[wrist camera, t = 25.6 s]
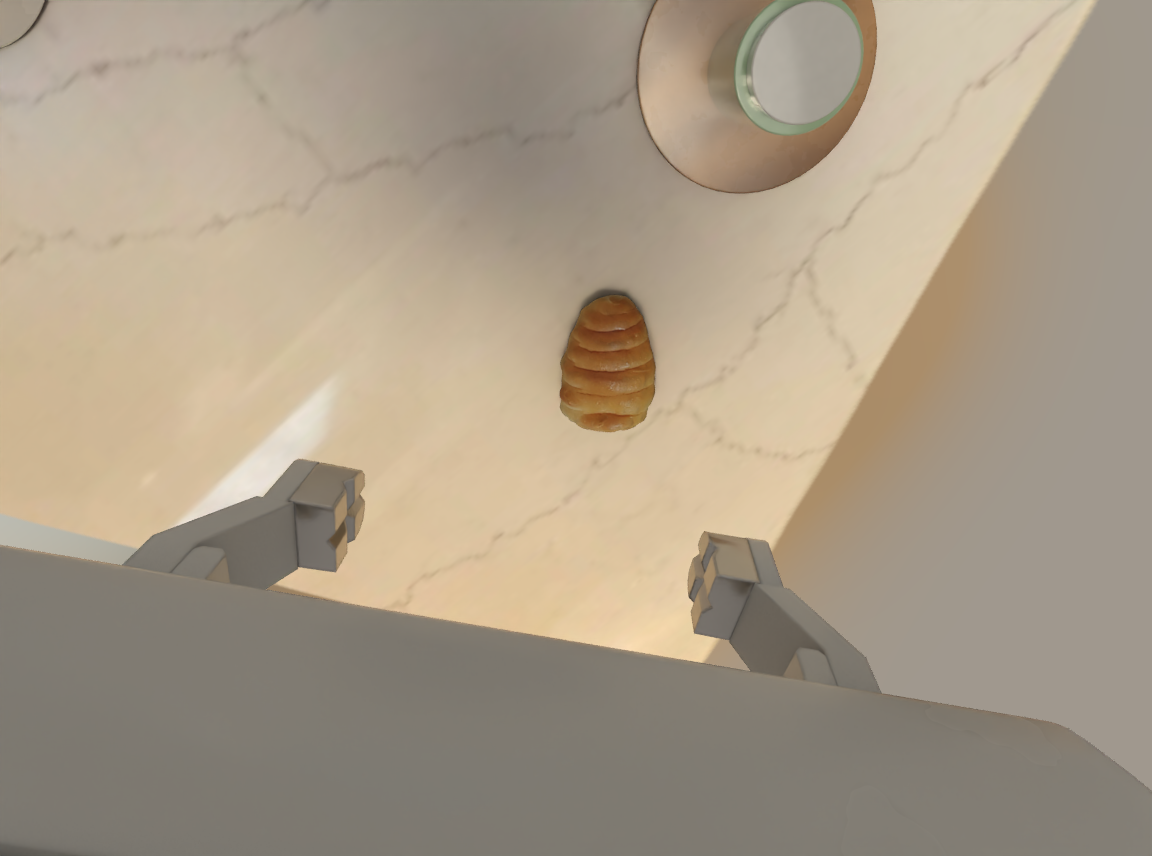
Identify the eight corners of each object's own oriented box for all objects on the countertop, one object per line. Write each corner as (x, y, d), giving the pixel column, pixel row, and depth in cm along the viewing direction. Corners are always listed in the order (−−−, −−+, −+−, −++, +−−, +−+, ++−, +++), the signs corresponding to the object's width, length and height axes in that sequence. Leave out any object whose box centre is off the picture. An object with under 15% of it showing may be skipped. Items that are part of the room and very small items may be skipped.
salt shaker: (693, 43, 33) (721, 27, 25) (791, -9, 32) (858, -45, 23) (724, 141, 36) (760, 160, 27) (817, 97, 34) (887, 101, 26)
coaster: (592, 101, 36) (591, 101, 35) (745, -142, 30) (748, -147, 30) (757, 234, 39) (759, 236, 38) (923, 36, 33) (930, 35, 33)
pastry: (562, 289, 41) (558, 306, 38) (662, 292, 41) (666, 310, 38) (561, 411, 46) (557, 437, 43) (650, 415, 46) (654, 441, 42)
